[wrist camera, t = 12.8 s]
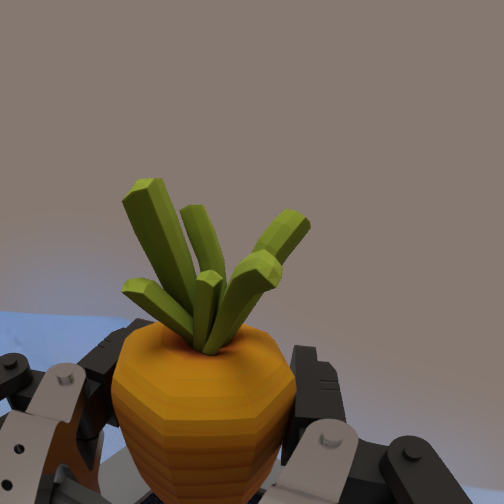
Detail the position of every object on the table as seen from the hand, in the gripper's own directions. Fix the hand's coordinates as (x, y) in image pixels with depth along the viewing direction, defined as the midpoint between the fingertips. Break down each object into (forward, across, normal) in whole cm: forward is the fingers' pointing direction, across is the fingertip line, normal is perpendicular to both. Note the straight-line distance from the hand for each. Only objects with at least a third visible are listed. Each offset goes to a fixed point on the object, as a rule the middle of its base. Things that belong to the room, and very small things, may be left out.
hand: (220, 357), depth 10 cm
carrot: (-3, 0, +9) cm, 10 cm away
